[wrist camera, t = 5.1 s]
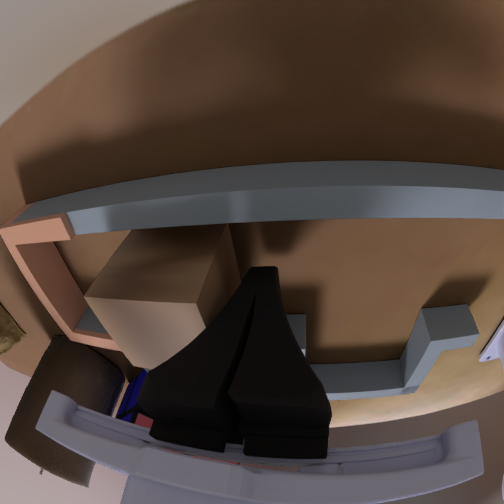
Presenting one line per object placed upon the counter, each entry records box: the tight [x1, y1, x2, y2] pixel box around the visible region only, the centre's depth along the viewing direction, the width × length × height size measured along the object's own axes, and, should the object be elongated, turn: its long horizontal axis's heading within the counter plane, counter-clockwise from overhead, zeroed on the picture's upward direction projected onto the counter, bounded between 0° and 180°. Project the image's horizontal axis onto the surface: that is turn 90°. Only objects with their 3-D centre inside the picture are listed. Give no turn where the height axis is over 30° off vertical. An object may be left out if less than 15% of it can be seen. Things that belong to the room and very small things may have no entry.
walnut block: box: [84, 223, 241, 369], centre depth 13 cm, size 5×5×5 cm
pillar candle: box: [5, 335, 125, 487], centre depth 21 cm, size 10×10×15 cm
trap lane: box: [0, 161, 504, 400], centre depth 15 cm, size 27×16×3 cm, turn 98°
